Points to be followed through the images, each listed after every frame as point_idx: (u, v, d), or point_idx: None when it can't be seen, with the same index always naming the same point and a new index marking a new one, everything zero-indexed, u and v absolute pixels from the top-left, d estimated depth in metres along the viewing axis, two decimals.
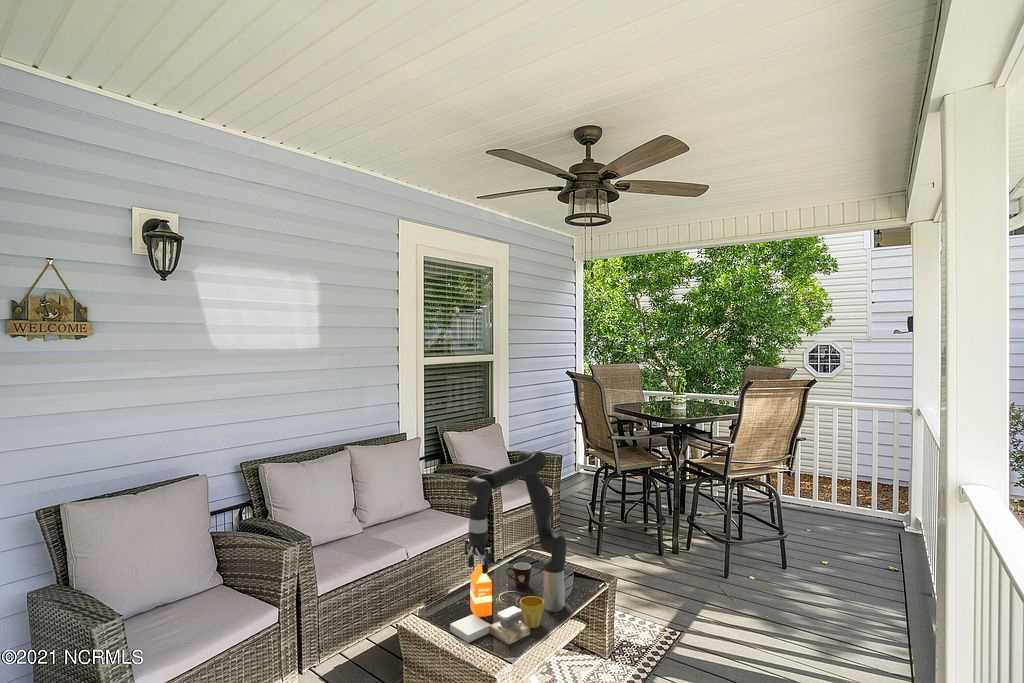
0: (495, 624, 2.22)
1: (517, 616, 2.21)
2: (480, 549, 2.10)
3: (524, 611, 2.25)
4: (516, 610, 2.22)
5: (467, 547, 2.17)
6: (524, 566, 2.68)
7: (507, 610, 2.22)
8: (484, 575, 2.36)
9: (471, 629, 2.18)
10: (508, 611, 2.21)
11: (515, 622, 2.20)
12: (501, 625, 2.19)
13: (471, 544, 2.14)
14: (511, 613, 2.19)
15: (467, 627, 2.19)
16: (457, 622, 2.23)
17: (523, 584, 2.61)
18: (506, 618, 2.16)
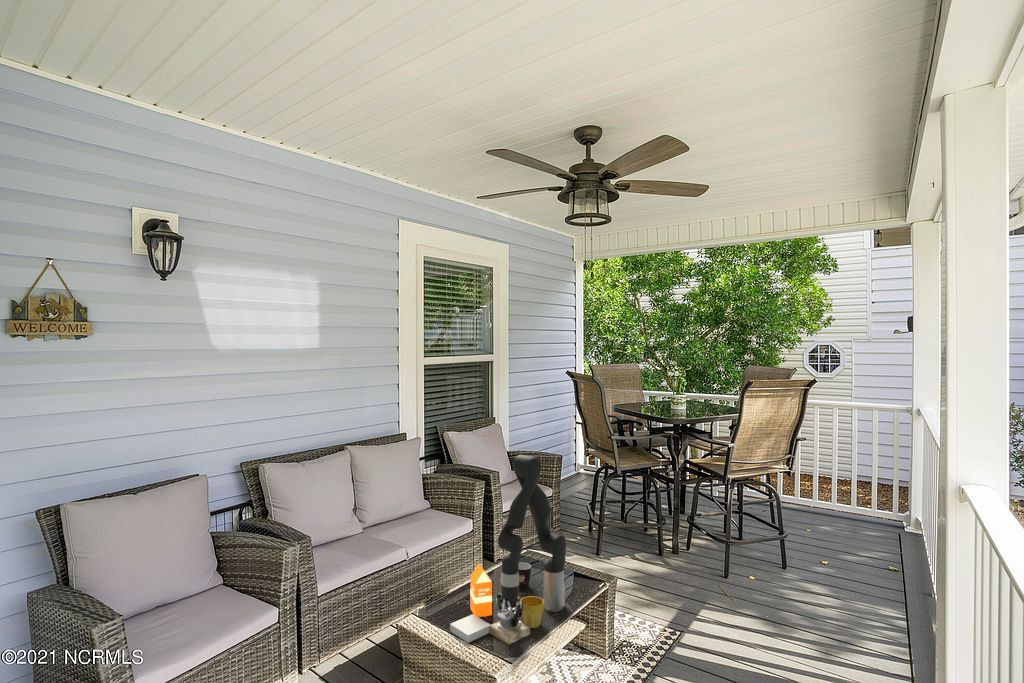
0: (495, 624, 2.22)
1: None
2: (512, 603, 2.18)
3: (524, 611, 2.25)
4: None
5: (500, 601, 2.24)
6: (524, 566, 2.68)
7: (507, 610, 2.22)
8: (484, 575, 2.36)
9: (471, 629, 2.18)
10: (508, 611, 2.21)
11: None
12: (501, 625, 2.19)
13: (503, 598, 2.22)
14: None
15: (467, 627, 2.19)
16: (457, 622, 2.23)
17: (523, 584, 2.61)
18: (506, 618, 2.16)
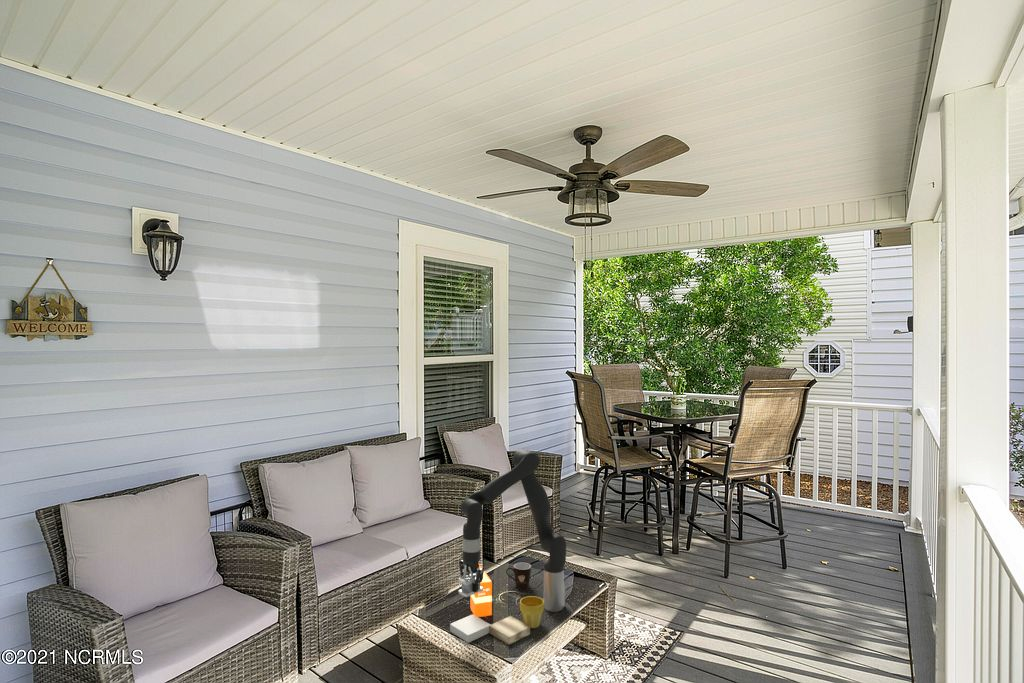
0: (495, 624, 2.22)
1: None
2: (473, 569, 2.20)
3: (524, 611, 2.25)
4: None
5: (462, 567, 2.26)
6: (524, 566, 2.68)
7: (469, 576, 2.23)
8: (484, 575, 2.36)
9: (471, 629, 2.18)
10: (469, 577, 2.22)
11: None
12: (462, 590, 2.20)
13: (464, 564, 2.24)
14: None
15: (467, 627, 2.19)
16: (457, 622, 2.23)
17: (523, 584, 2.61)
18: (466, 583, 2.18)
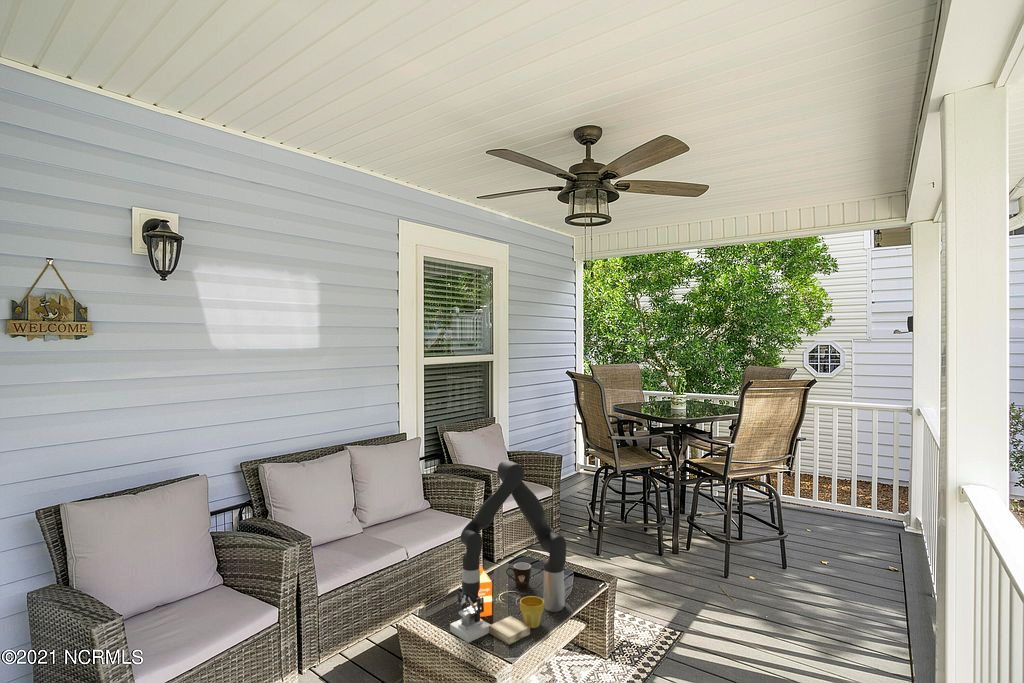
0: (495, 624, 2.22)
1: None
2: (473, 598, 2.19)
3: (524, 611, 2.25)
4: None
5: (460, 595, 2.26)
6: (524, 566, 2.68)
7: (468, 609, 2.23)
8: (484, 575, 2.36)
9: (471, 629, 2.18)
10: (469, 609, 2.22)
11: None
12: (462, 623, 2.20)
13: (464, 593, 2.23)
14: (472, 611, 2.20)
15: None
16: (457, 622, 2.23)
17: (523, 584, 2.61)
18: (466, 616, 2.17)
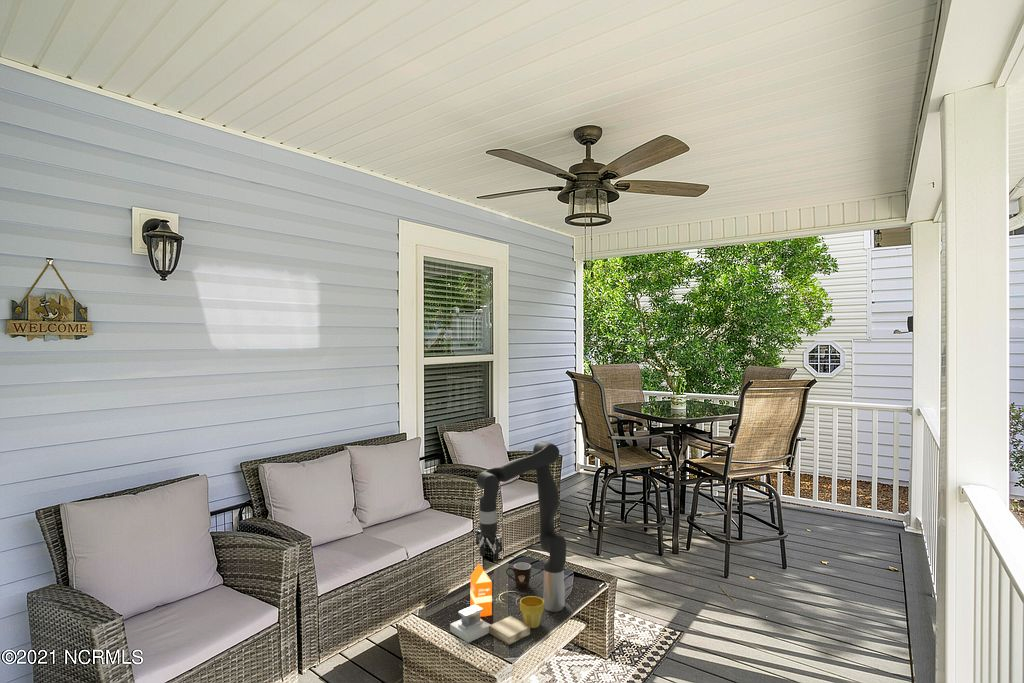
0: (495, 624, 2.22)
1: (478, 614, 2.22)
2: (491, 539, 2.24)
3: (524, 611, 2.25)
4: (477, 609, 2.23)
5: (478, 537, 2.30)
6: (524, 566, 2.68)
7: (468, 609, 2.23)
8: (484, 575, 2.36)
9: (471, 629, 2.18)
10: (469, 609, 2.22)
11: (476, 620, 2.21)
12: (462, 623, 2.20)
13: (482, 534, 2.28)
14: (472, 611, 2.20)
15: None
16: (457, 622, 2.23)
17: (523, 584, 2.61)
18: (466, 616, 2.17)
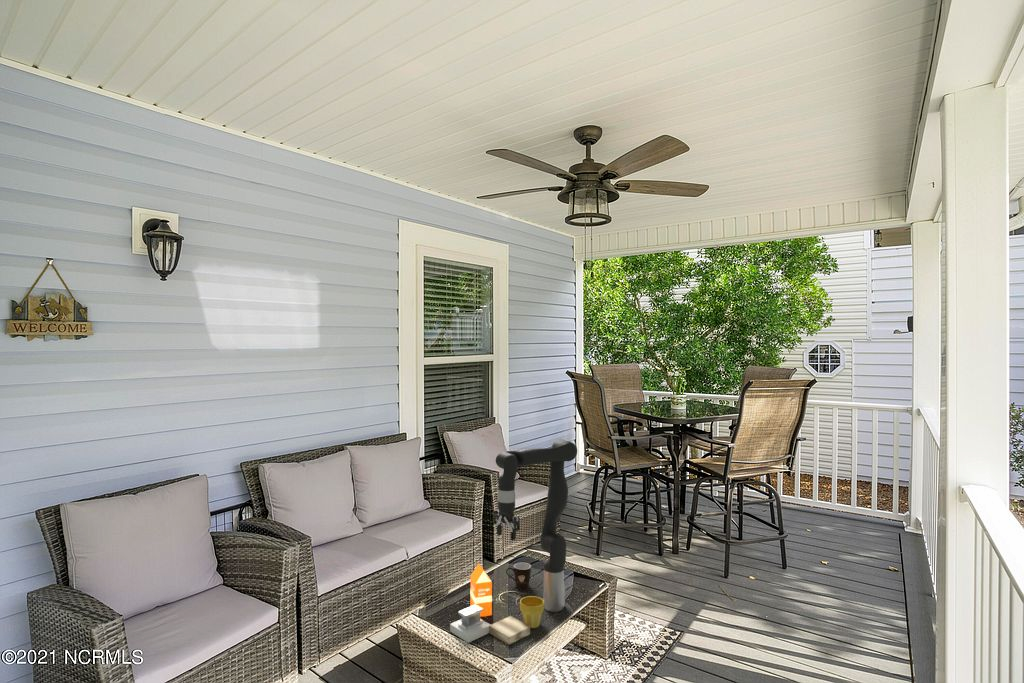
0: (495, 624, 2.22)
1: (478, 614, 2.22)
2: (508, 518, 2.28)
3: (524, 611, 2.25)
4: (477, 609, 2.23)
5: (496, 517, 2.34)
6: (524, 566, 2.68)
7: (468, 609, 2.23)
8: (484, 575, 2.36)
9: (471, 629, 2.18)
10: (469, 609, 2.22)
11: (476, 620, 2.21)
12: (462, 623, 2.20)
13: (500, 514, 2.32)
14: (472, 611, 2.20)
15: None
16: (457, 622, 2.23)
17: (523, 584, 2.61)
18: (466, 616, 2.17)
